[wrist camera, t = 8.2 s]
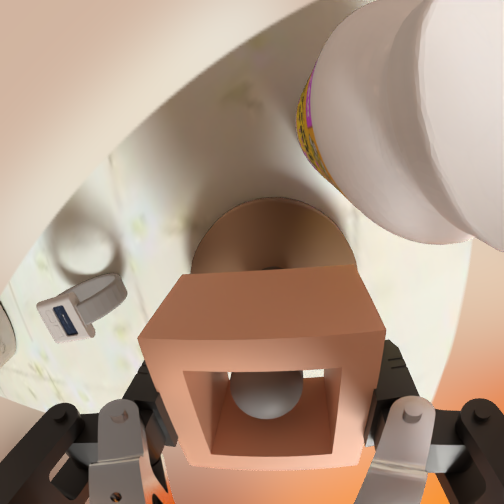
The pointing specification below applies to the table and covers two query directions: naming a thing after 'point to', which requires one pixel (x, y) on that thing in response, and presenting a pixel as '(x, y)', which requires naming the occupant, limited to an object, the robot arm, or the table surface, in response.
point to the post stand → (270, 258)
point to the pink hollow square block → (267, 364)
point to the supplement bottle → (413, 117)
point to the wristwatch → (81, 307)
